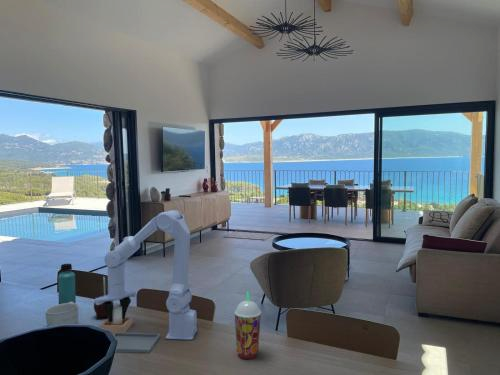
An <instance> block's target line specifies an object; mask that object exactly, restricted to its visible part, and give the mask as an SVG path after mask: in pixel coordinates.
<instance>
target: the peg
mask: <svg viewBox="0 0 500 375" xmlns="http://www.w3.org/2000/svg"><path fill="white" fill-rule="evenodd" d="M112 316H113V321H112V322H111V325H122V305H120V304H113V312H112Z"/></svg>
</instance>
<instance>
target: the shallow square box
mask: <svg viewBox="0 0 500 375" xmlns="http://www.w3.org/2000/svg"><path fill="white" fill-rule="evenodd" d="M132 325H133V317H131V316H129V317H128V316H125V319H122V325H111V322H109V321H108V319H107V318H106V320H105V321H104V322H102V323H101V324H100V325H99V329H100V328H104V329H107V330H109V331H111V332H112V333H113V334H114V333H115V332H116V333H127V331H128V330H129V329H130V327H132ZM113 334H112V335H113Z"/></svg>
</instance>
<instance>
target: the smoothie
mask: <svg viewBox="0 0 500 375" xmlns="http://www.w3.org/2000/svg"><path fill="white" fill-rule="evenodd" d="M249 296H250V292H249V291H246V300H242V301H241V302H239V303H238V305H237V306H236V309H235V310H234V312H233V313H234V322H235V323H234V326H235V341H236V344H235V346H236V353H237V354H238V356H239V357H240V358H242V359H249V360H250V359H254V358H256V357H257V355H258V353H259V344H260V343H259V342H260V328H261V314H262V311H261V309H260V307H259V306H258V304H257V303H256V302H255V301H252V300H250V297H249Z"/></svg>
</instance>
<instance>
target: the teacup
mask: <svg viewBox="0 0 500 375" xmlns="http://www.w3.org/2000/svg"><path fill="white" fill-rule="evenodd" d="M78 307H79V304H77V302H76V303H74V302H69V303H63V304H59V303H58V304H54V305H52V306H50V307H48V308H47V309H45V312H44V313H45V320H46V325H47V328H48V327H49V326H55V325H61V324H75V325H76V324H77V323H78V321H79V308H78Z"/></svg>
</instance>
